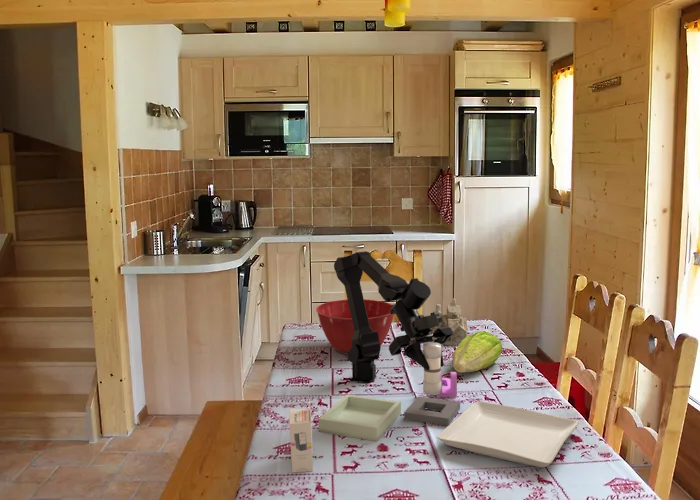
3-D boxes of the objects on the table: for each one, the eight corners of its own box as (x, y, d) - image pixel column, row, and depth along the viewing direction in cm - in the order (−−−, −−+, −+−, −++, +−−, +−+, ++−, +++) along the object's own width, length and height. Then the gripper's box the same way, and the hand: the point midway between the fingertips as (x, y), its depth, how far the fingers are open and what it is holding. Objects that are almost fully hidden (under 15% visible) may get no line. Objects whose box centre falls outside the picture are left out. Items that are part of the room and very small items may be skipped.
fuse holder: (404, 419, 177) (404, 412, 176) (418, 403, 188) (418, 396, 187) (448, 425, 172) (448, 418, 172) (460, 409, 183) (460, 402, 183)
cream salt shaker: (421, 393, 178) (420, 346, 176) (426, 387, 182) (426, 341, 180) (438, 395, 176) (438, 348, 174) (443, 389, 180) (443, 343, 178)
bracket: (456, 397, 192) (456, 374, 190) (437, 397, 192) (437, 374, 191) (451, 381, 204) (451, 360, 203) (433, 382, 205) (433, 360, 204)
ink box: (291, 455, 157) (288, 396, 155) (312, 454, 158) (310, 395, 155) (291, 473, 149) (288, 410, 147) (313, 472, 149) (311, 409, 147)
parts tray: (318, 431, 170) (318, 418, 170) (347, 406, 187) (346, 394, 186) (377, 441, 164) (376, 427, 163) (401, 414, 180) (400, 401, 180)
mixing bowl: (410, 344, 243) (409, 303, 241) (370, 367, 220) (369, 321, 217) (345, 334, 258) (344, 295, 256) (301, 354, 235) (300, 311, 232)
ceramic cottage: (425, 332, 257) (426, 295, 254) (468, 335, 256) (470, 297, 252) (424, 347, 242) (426, 308, 239) (470, 349, 240) (472, 310, 237)
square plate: (549, 479, 144) (550, 462, 144) (434, 451, 159) (434, 435, 158) (579, 432, 167) (580, 418, 167) (476, 412, 181) (476, 398, 181)
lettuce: (433, 359, 210) (463, 341, 203) (465, 335, 230) (493, 319, 223) (455, 392, 208) (485, 375, 201) (485, 365, 228) (514, 349, 221)
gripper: (394, 307, 173) (421, 359, 166) (449, 297, 183) (476, 345, 176) (377, 330, 181) (402, 380, 174) (431, 319, 191) (456, 366, 184)
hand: (435, 367), depth 177 cm, fingers closed on cream salt shaker, 4 cm apart
